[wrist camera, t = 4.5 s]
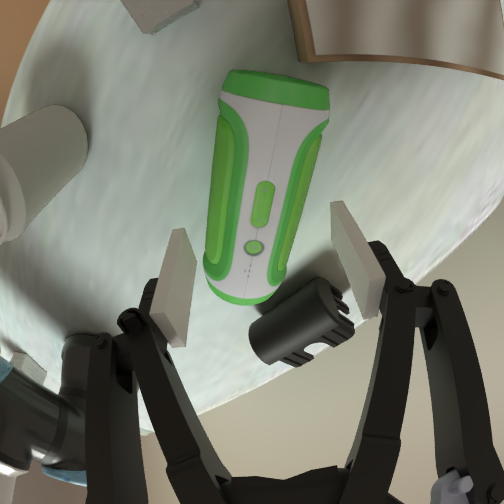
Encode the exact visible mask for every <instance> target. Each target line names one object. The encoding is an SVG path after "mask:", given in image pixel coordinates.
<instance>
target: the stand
mask: <svg viewBox="0 0 504 504" xmlns="http://www.w3.org/2000/svg"><path fill="white" fill-rule="evenodd" d="M287 1H288V6H289V11H290V16H291V21H292V26H293V31H294V37H295V42H296V48H297V54H298V60H299V62H306V63H313V62H331V61H382V62H400V63H412V64H422V65H430V66H437V67H444V68H451V69H456V70H462V71H467V72H472V73H477V74H481V75H485V76H489V77H493V78H497V79H501V80H504V21H503V14H502V8H501V3H500V0H287Z"/></svg>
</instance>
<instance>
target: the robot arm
mask: <svg viewBox="0 0 504 504" xmlns="http://www.w3.org/2000/svg"><path fill="white" fill-rule="evenodd" d="M330 206H331V240H332V242H333V244H334V247H335V249H336V251H337V254H338V256H339V258H340V261H341V263H342V266H343V268H344V271H345V273H346V275H347V278H348V280H349V283H350V285H351V288H352V291H353V293H354V296H355V298H356V301H357V304H358V306H359V309H360V312H361V314H362V317H363V320H364V319H368V318H372V317H377V316H378V313H379V309H380V312H381V314H382V319H381V324H380V327H379V330H380V331H379V337H378V343H377V349H376V355H375V360H374V364H373V369H372V374H371V379H370V384H369V387H368V392H367V396H366V400H365V404H364V408H363V411H362V415H361V419H360V422H359V426H358V429H357V433H356V436H355V440H354V443H353V446H352V448H351V451H350V453H349V456H348V458H347V462H346V464H345V467H344V468H337V465H336V466H331V467H325V468H320V469H314V470H310V471H307V472H305V473H302V474H299V475H297V476H294V477H291V478H288V479H285V480H280V479H273V478H265V477H259V476H249V477H232V476H231V474H230V473H229V472H228V470H227V469H226V467H225V466H224V465H223V464H222V462H221V461H220V459H219V457H218V455H217V454H216V452H215V450H214V448H213V446H212V444H211V442H210V440H209V438H208V437H207V435H206V433H205V431H204V429H203V427H202V425H201V423H200V421H199V419H198V417H197V415H196V412H195V410H194V408H193V406H192V404H191V402H190V400H189V398H188V395H187V393H186V391H185V389H184V386H183V384H182V382H181V380H180V377H179V375H178V373H177V370H176V368H175V366H174V363H173V361H172V358H171V356H170V353H169V352H168V350H167V343H169V344H170V346H171V347H172V348H176V347H186V340H187V331H188V323H189V315H190V308H191V300H192V293H193V286H194V279H195V272H196V266H197V260H196V258H195V255H194V252H193V250H192V247H191V245H190V242H189V239H188V237H187V234H186V231H185V228H180V229H175V230H172V234H171V237H170V240H169V243H168V247H167V250H166V254H165V257H164V260H163V264H162V267H161V271H160V275H159V278H154V279H150V280H149V281H148V283H147V284H146V285H145V288H144V291H143V295H142V298H141V301H140V305H139V308H138V309H137V308H129V309H127V310H125V311H124V312H122V313H121V314H120V316H119V317H118V320H117V325H118V326H119V327H120V329H121V330H122V331H123V332H124V333H123V334H120V335H117V336H115V337H112V336H111V335H110V334H108V333H101V334H99V335H97V336H96V337H94V336H89V335H73V336H70V337H68V338H67V339H66V341H65V344H64V346H63V349H62V353H61V354H62V356H61V357H62V360H63V362H62V373H61V387H60V391H59V394H58V395H57V394H56V393H54V392H53V391H51V390H49V389H48V388H46V387H44V386H43V385H41V384H40V383H38V382H37V381H35V380H34V379H32V378H31V377H29V376H28V375H26V374H25V373H23V372H22V371H21V370H19V369H18V368H16V367H15V366H14V364H13V363H12V362H8V361H7V360H5V359H4V358H3V357H1V356H0V504H12V498H13V492H14V486H15V480H16V477H17V476H18V475H21V474H24V473H27V472H28V471H29V468H30V463H31V460H34V461H36V462H38V463H41V469H42V472H43V473H44V474H46V475H48V476H50V477H53V478H56V479H59V480H62V481H66V482H70V483H73V484H77V485H82V486H86V487H87V491H88V494H87V498H86V503H85V504H148V494H147V487H146V480H145V474H144V466H143V458H142V449H141V440H140V429H139V416H138V399H137V392H138V390H139V388H140V390H141V393H142V397H143V400H144V403H145V406H146V409H147V412H148V414H149V417H150V420H151V423H152V426H153V428H154V431H155V434H156V436H157V439H158V441H159V444H160V446H161V449H162V451H163V454H164V456H165V458H166V461H167V468H166V473H167V476H168V479H169V481H170V483H171V485H172V487H173V489H174V492H175V494H176V496H177V498H178V500H179V502H180V504H404V503H402V502H401V501H399V500H398V499H397V498H395V497H394V496H392V495H391V494H389V493H388V490H389V487H390V484H391V481H392V477H393V474H394V471H395V467H396V463H397V460H398V456H399V452H400V447H401V440H400V432H401V428H402V423H403V418H404V413H405V407H406V401H407V395H408V389H409V382H410V375H411V367H412V357H413V346H414V334H415V327H419V329H420V334H421V339H422V344H423V349H424V354H425V360H426V365H427V372H428V379H429V386H430V394H431V401H432V411H433V422H434V437H435V457H436V468H437V474H438V478H439V479H438V480H437V481H436V482H435V483H434V485H433V487H432V489H431V503H430V504H500V503H501V502H502V501H503V500H504V470H503V468H502V465H501V463H500V460H499V458H498V455H497V453H496V451H495V448H494V446H493V442H492V432H491V424H490V416H489V410H488V404H487V398H486V393H485V387H484V382H483V378H482V373H481V369H480V365H479V362H478V357H477V353H476V349H475V346H474V343H473V339H472V336H471V332H470V329H469V326H468V323H467V320H466V317H465V314H464V311H463V308H462V305H461V302H460V300H459V297H458V294H457V292H456V289H455V287H454V286H453V284H452V283H450V282H449V281H447V280H443V279H439V280H435V281H434V282H433V283H432V286H431V287H424V286H416V285H415V284H414V283H413V282H412V281H411V280H409V279H407V278H404V276H403V274H402V273H401V271H400V269H399V267H398V266H397V264H396V262H395V261H394V259H393V257H392V256H391V254H390V253H389V251H388V249H387V247H386V246H385V245H384V244H383V243H381V242H380V241H379V240H378V241H372V242H367V241H366V239H365V237H364V235H363V234H362V232H361V230H360V229H359V227H358V225H357V224H356V222H355V220H354V218H353V217H352V215H351V214H350V212H349V210H348V209H347V207H346V205H345V204H344V202H343V201H335V202H330Z"/></svg>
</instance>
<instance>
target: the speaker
mask: <svg viewBox="0 0 504 504" xmlns="http://www.w3.org/2000/svg"><path fill="white" fill-rule="evenodd" d="M218 104H219V108H220V113H221V114H220V115H219V117H218V121H217V129H216V138H215V147H214V156H213V165H212V176H211V188H210V197H209V208H208V219H207V231H206V242H205V252H204V255H203V267H204V272H205V276H206V279H207V282H208V285H209V287H210V288H211V290H212V291H213V292H214V293H215V294H216V295H217V296H218V297H220V298H221V299H223V300H225V301H227V302H230V303H233V304H237V305H254V304H258V303H261V302H264V301H265V300H267V299H269V298H270V297H271V296H272V295H273V293H274V292H275V291H276V290H277V288H278V287H279V286H280V284H281V282H282V281H283V279H284V277H285V274H286V269H287V268H286V264H287V261H288V258H289V255H290V251H291V248H292V245H293V241H294V238H295V235H296V231H297V228H298V224H299V221H300V217H301V214H302V210H303V206H304V203H305V199H306V196H307V192H308V189H309V185H310V181H311V178H312V174H313V170H314V166H315V163H316V159H317V155H318V151H319V147H320V143H321V139H322V134H321V132H322V131H323V129H324V128H325V127H326V125H327V124H328V122H329V111H330V104H329V90H328V88H326V87H324V86H322V85H319V84H315V83H312V82H308V81H304V80H300V79H296V78H292V77H287V76H282V75H276V74H270V73H264V72H257V71H248V70H231V71H229V73H228V75H227V78H226V80H225V82H224V84H223V87H222V90H221V92H220V96H219V99H218Z"/></svg>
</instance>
